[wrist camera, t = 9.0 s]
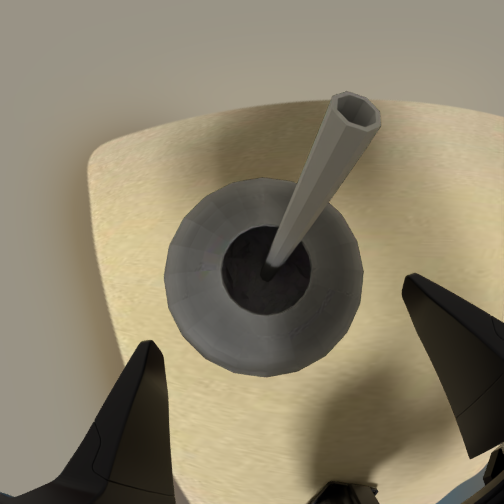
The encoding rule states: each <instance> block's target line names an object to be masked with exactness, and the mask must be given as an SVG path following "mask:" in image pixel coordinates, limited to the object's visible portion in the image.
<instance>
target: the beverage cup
mask: <svg viewBox="0 0 504 504" xmlns="http://www.w3.org/2000/svg"><path fill="white" fill-rule="evenodd" d="M380 127H381V118H380V111H379V110H378V109H377V108H376V107H375V106H374V105H373V104H372V103H371V102H370V101H369V100H368V99H367V98H366V97H363V96H360V95H357V94H354V93H351V92H348V91H346V92H343V93H340V94H336V95H334V96H332V99H331V101H330V104H329V106H328V109H327V111H326V114H325V116H324V119H323V121H322V124H321V126H320V129H319V131H318V134H317V136H316V139H315V141H314V144H313V146H312V149H311V151H310V153H309V156H308V158H307V161H306V163H305V166H304V168H303V171H302V173H301V176H300V178H299V180H298V183H295V182H292V181H285V180H278V179H271V178H263V177H262V178H256V179H250V180H244V181H238V182H233V183H231V184H229V185H227V186H225V187H223V188H221V189H219V190H217V191H215V192H213V193H211V194H209V195H207V196H205V197H204V198H203V199H202V200H201V201H200V202H199V203H198V204H197V205H196V206H195V207H194V208H193V209H192V210H191V211H190V212H189V213H188V214H187V215H186V216H185V217H184V218H183V220H182V222H181V224H180V226H179V228H178V230H177V232H176V234H175V236H174V237H173V239H172V241H171V243H170V245H169V249H168V255H167V261H166V267H165V273H164V282H165V289H166V295H167V302H168V308H169V310H170V312H171V314H172V316H173V318H174V320H175V322H176V324H177V326H178V328H179V330H180V332H181V334H182V336H183V337H184V338H185V339H186V340H187V341H188V342H189V343H190V344H191V345H192V346H193V347H194V348H195V349H196V350H197V351H198V352H199V353H200V354H201V355H202V356H203V357H204V358H205V359H207V360H209V361H211V362H213V363H215V364H217V365H219V366H221V367H223V368H225V369H227V370H229V371H231V372H233V373H237V374H244V375H251V376H259V377H271V376H277V375H282V374H287V373H292V372H297V371H299V370H301V369H303V368H305V367H307V366H309V365H310V364H312V363H314V362H316V361H318V360H319V359H321V358H323V357H325V356H326V355H327V354H328V353H329V352H330V351H331V350H332V349H333V347H334V346H335V345H336V344H337V343H338V342H339V341H340V340H341V339H342V338H343V337H344V335H345V334H346V333H347V332H348V330H349V327H350V325H351V323H352V321H353V319H354V316H355V314H356V312H357V310H358V307H359V305H360V301H361V292H362V283H363V273H364V271H363V266H362V261H361V256H360V252H359V247H358V243H357V240H356V238H355V237H354V235H353V233H352V231H351V229H350V228H349V226H348V224H347V222H346V221H345V219H344V217H343V216H342V214H341V213H339V212H338V211H337V210H336V209H335V208H334V207H333V206H332V205H331V204H330V203H329V201H330V200H331V198H332V197H333V195H334V194H335V193H336V191H337V190H338V188H339V187H340V185H341V184H342V183H343V181H344V180H345V178H346V177H347V175H348V174H349V173H350V171H351V170H352V168H353V167H354V165H355V164H356V162H357V161H358V160H359V158H360V157H361V155H362V154H363V152H364V151H365V149H366V148H367V146H368V145H369V143H370V142H371V140H372V139H373V137H374V136H375V134H376V133H377V131H378V130H379V128H380Z"/></svg>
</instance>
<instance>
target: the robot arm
mask: <svg viewBox="0 0 504 504" xmlns="http://www.w3.org/2000/svg"><path fill="white" fill-rule="evenodd" d="M402 298H403V300H404V303H405V305H406V307H407V310H408V312H409V314H410V317H411V319H412V322H413V324H414V327H415V329H416V332H417V334H418V336H419V338H420V340H421V342H422V344H423V346H424V348H425V350H426V352H427V354H428V356H429V358H430V360H431V362H432V364H433V366H434V368H435V371H436V373H437V375H438V377H439V379H440V382H441V384H442V386H443V388H444V391H445V393H446V396H447V398H448V400H449V403H450V405H451V408H452V410H453V413H454V415H455V418H456V421H457V424H458V426H459V429H460V432H461V435H462V438H463V441H464V444H465V447H466V450H467V453H468V456H469V458H470V459H472V458H474V457H476V456H478V455H480V454H482V453H484V452H486V451H488V450H490V449H492V448H494V447H496V446H497V445H499V444H500V446H499V447H498V448H496V449H495V450H494V451H493V452H492V453H491V456H490V459H489V462H488V465H487V468H486V471H485V474H484V476H483V480H484V483H485V487H483V488H482V489H481V490H479V491H478V492H477V493H475V494H474V495H473V496H471V497H470V498H468V499H467V500H466V501H464V502H463V503H461V504H504V323H503V322H501V321H500V320H498V319H496V318H495V317H493V316H491V315H490V314H488V313H486V312H485V311H483V310H481V309H480V308H478V307H476V306H475V305H473V304H471V303H470V302H468V301H466V300H464V299H463V298H461V297H459V296H457V295H456V294H454V293H452V292H450V291H449V290H447V289H445V288H443V287H441V286H440V285H438V284H436V283H434V282H432V281H430V280H429V279H427V278H425V277H423V276H421V275H419V274H417V273H413V274H410V275H407V276H406V277H405V280H404V284H403V288H402ZM331 485H333V486H331ZM377 493H378V490H377V488H372V487H369V486H363V485H356V484H346V483H340V482H335V481H332V482H329V483H328V484H327V485H326V486H325V487H324V489H323V490H322V491H321V492H320V493H319V494H318V495H317V496H316V498H315V499H314V500H313V501H312V502H311V503H310V504H379V502H378V500H377V499H376V497H375V495H376V494H377ZM174 496H175V495H174V485H173V475H172V463H171V449H170V431H169V402H168V390H167V382H166V374H165V365H164V357H163V354H162V352H161V351H160V349H159V348H158V347H157V345H156V344H155V343H154V341H152V340H146V341H142V342H140V344H139V345H138V347H137V348H136V350H135V352H134V353H133V355H132V356H131V358H130V360H129V361H128V363H127V365H126V366H125V368H124V370H123V371H122V373H121V375H120V377H119V378H118V380H117V382H116V383H115V385H114V387H113V388H112V390H111V392H110V394H109V395H108V397H107V399H106V400H105V402H104V404H103V406H102V408H101V409H100V411H99V413H98V415H97V416H96V418H95V422H93V424H92V425H91V427H90V429H89V431H88V433H87V434H86V436H85V438H84V439H83V441H82V442H81V444H80V446H79V447H78V449H77V450H76V452H75V453H74V455H73V456H72V458H71V459H70V461H69V462H68V464H67V465H66V467H65V468H64V470H63V471H62V473H61V474H60V475H59V476H58V477H57V478H56V479H55V480H53V481H52V482H50V483H48V484H45V485H43V486H41V487H39V488H37V489H34V490H32V491H29V492H27V493H25V494H22V495H20V496H17V497H13V496H10V495H8V494H5V493H2V492H0V504H176V501H175V497H174Z"/></svg>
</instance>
